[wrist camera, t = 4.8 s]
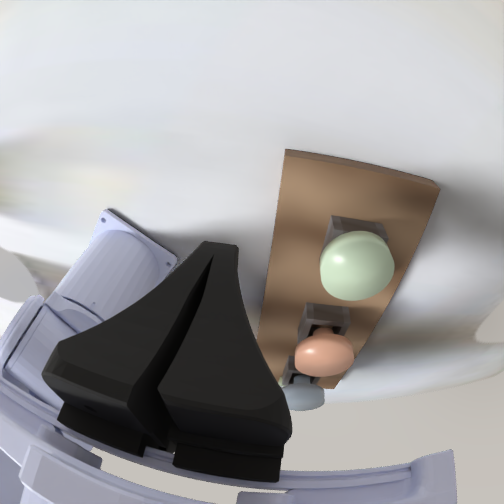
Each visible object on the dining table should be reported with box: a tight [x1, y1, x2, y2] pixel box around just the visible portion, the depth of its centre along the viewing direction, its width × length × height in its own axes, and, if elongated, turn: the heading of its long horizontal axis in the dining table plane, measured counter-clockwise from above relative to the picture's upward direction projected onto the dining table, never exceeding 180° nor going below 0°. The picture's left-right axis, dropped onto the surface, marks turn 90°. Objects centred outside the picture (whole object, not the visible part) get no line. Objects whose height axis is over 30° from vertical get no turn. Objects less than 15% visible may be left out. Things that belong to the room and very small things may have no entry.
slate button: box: [281, 375, 324, 411], centre depth 28 cm, size 5×5×3 cm
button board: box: [257, 149, 440, 389], centre depth 25 cm, size 28×11×3 cm, turn 175°
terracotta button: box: [295, 327, 354, 377], centre depth 22 cm, size 5×5×3 cm
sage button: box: [320, 231, 394, 301], centre depth 18 cm, size 5×5×3 cm
